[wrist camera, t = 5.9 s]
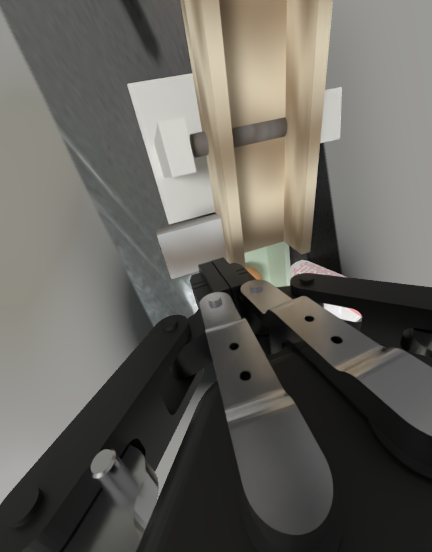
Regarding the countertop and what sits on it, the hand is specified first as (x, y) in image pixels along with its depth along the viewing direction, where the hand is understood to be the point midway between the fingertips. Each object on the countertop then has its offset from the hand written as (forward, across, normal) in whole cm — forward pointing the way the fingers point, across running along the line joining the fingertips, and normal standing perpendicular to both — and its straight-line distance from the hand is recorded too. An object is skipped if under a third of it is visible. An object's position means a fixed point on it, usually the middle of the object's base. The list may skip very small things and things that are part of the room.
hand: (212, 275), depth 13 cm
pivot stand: (+14, -6, -7) cm, 17 cm away
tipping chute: (+7, -4, -7) cm, 11 cm away
